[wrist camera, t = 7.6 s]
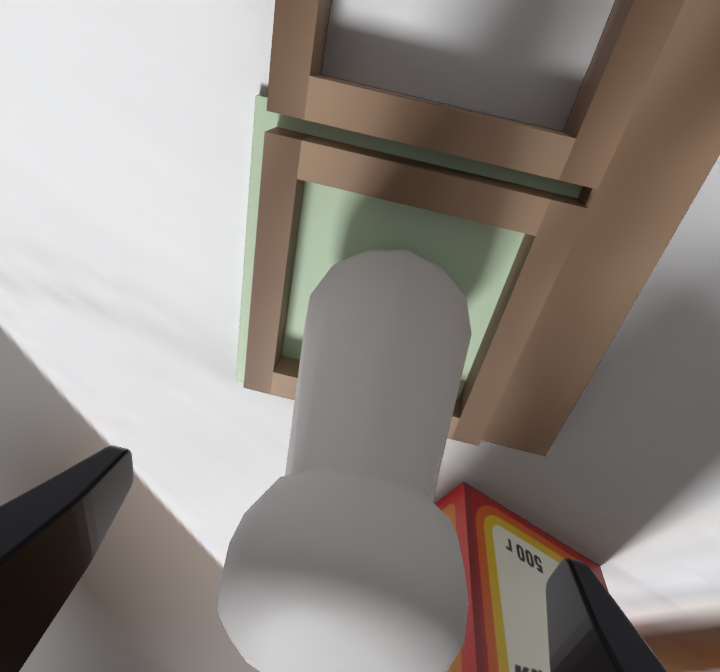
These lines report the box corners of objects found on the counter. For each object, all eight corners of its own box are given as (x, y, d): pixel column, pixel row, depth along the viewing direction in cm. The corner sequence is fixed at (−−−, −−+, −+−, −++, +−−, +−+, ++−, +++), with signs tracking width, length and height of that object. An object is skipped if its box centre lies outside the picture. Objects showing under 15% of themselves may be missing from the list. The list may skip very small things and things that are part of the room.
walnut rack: (934, -277, 10) (1014, -332, 9) (539, 437, 21) (547, 462, 20) (331, -408, 10) (314, -482, 9) (255, 366, 21) (243, 387, 20)
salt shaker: (301, 245, 18) (78, 548, 6) (453, 212, 16) (502, 527, 5) (342, 370, 20) (233, 740, 9) (475, 352, 19) (538, 758, 8)
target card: (609, 178, 15) (612, 179, 15) (487, 438, 22) (487, 442, 21) (258, 94, 15) (255, 95, 15) (237, 376, 22) (235, 380, 21)
